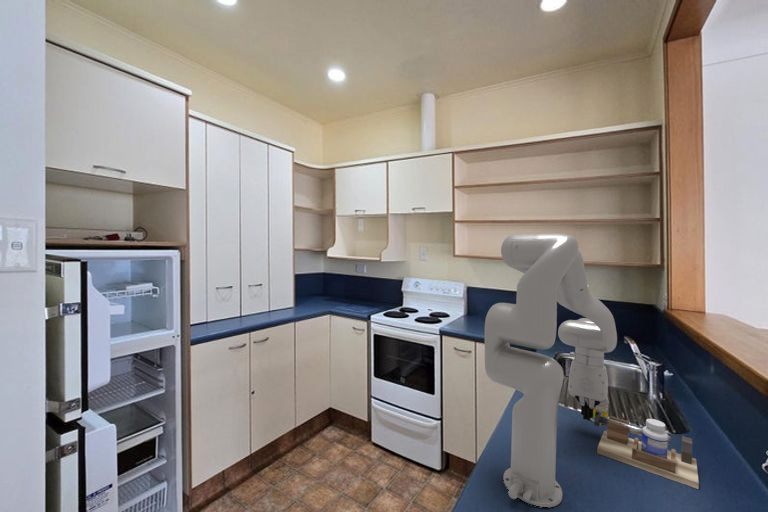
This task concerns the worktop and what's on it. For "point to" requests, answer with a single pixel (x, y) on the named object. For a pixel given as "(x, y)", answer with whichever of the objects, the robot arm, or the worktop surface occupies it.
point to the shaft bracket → (649, 455)
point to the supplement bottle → (602, 409)
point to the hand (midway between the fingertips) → (587, 418)
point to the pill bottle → (655, 438)
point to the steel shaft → (631, 428)
